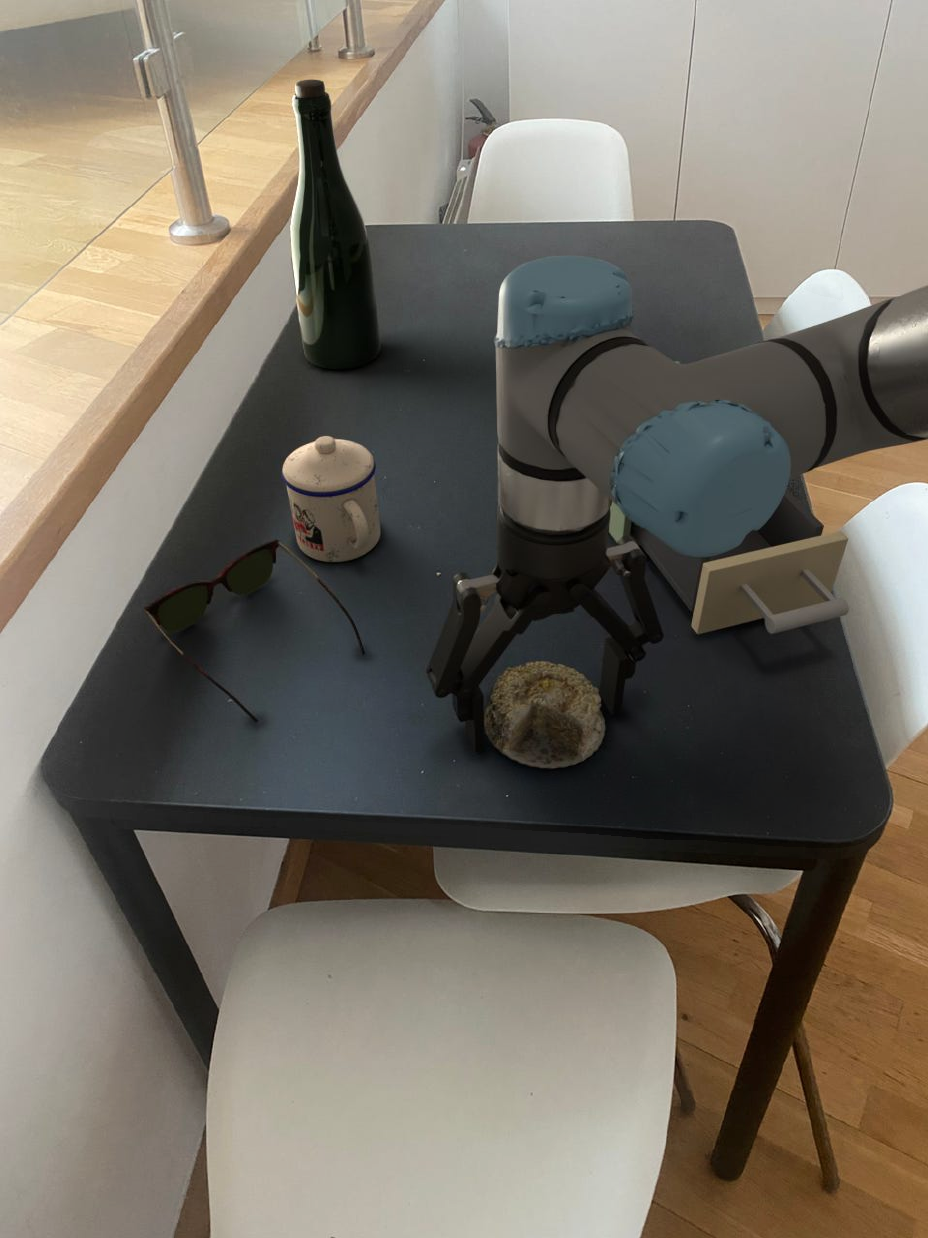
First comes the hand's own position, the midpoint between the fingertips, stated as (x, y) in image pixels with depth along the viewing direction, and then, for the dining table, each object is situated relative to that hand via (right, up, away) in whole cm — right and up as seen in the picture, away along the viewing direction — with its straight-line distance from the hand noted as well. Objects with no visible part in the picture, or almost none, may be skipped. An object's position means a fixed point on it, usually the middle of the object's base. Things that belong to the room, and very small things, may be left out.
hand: (543, 721), depth 76 cm
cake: (0, 0, 0) cm, 1 cm away
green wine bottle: (-23, +45, +50) cm, 71 cm away
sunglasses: (-25, +6, +8) cm, 27 cm away
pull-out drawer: (+19, +12, +12) cm, 25 cm away
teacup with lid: (-19, +16, +19) cm, 31 cm away
